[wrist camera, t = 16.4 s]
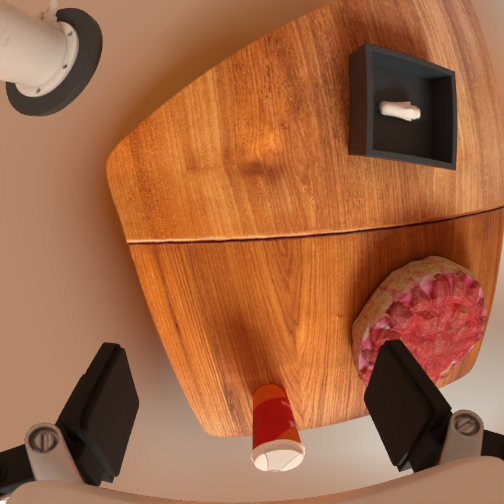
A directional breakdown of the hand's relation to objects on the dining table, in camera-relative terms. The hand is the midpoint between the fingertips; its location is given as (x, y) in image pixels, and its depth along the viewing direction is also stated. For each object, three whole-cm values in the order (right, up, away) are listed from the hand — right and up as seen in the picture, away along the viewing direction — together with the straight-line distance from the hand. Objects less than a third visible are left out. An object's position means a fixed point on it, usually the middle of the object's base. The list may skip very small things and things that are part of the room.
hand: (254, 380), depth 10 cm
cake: (+27, -7, +34) cm, 44 cm away
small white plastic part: (+18, +23, +23) cm, 37 cm away
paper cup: (+3, -19, +37) cm, 42 cm away
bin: (+19, +23, +23) cm, 38 cm away
